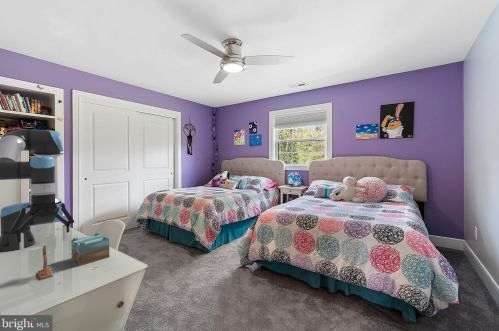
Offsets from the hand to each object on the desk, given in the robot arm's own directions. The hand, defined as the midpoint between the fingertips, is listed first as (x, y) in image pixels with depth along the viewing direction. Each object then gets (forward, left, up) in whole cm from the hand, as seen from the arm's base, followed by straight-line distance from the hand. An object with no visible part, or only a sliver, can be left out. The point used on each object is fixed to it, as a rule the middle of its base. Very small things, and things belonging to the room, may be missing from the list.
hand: (44, 245), depth 97 cm
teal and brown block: (-4, +18, -13) cm, 22 cm away
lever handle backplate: (0, 0, -13) cm, 13 cm away
